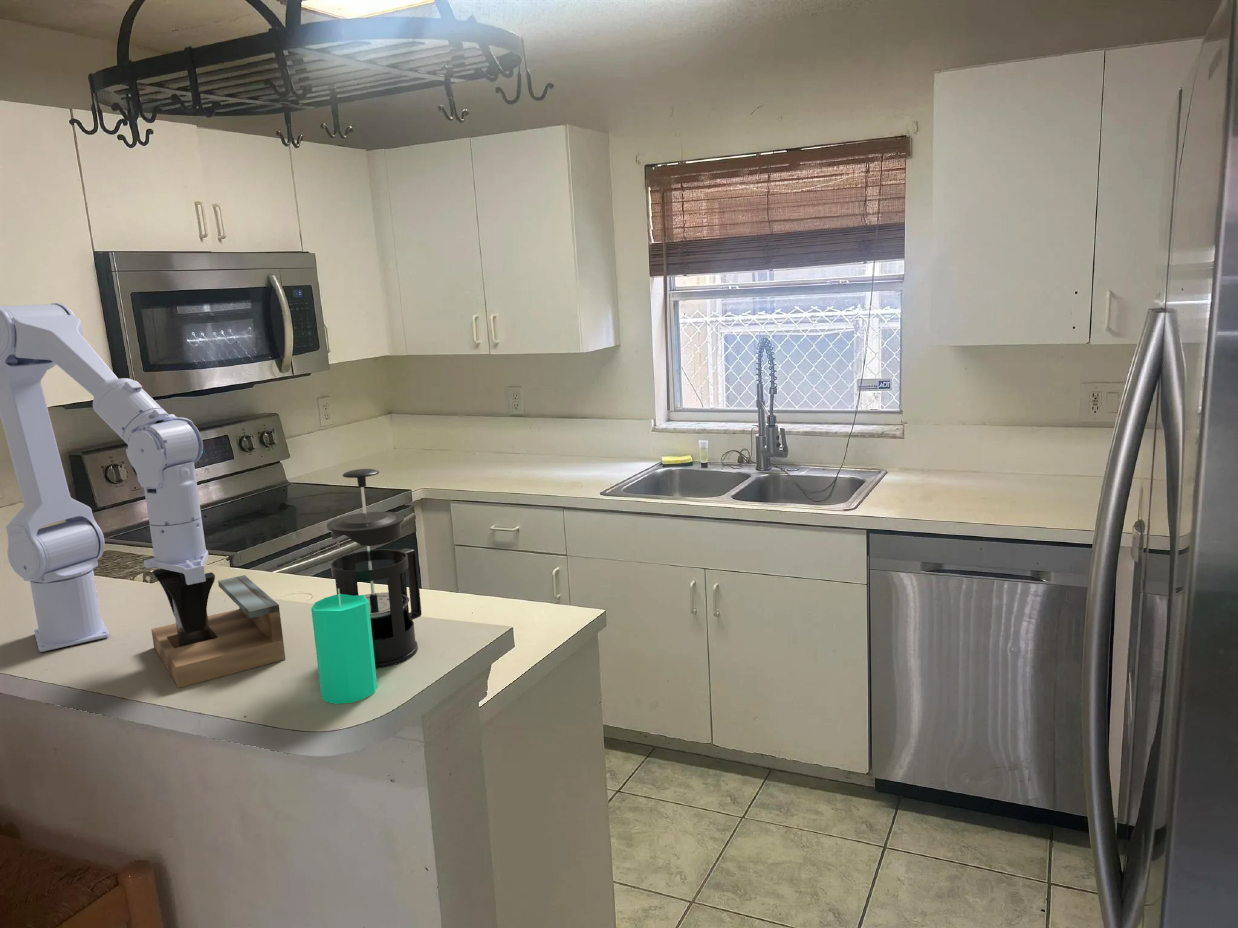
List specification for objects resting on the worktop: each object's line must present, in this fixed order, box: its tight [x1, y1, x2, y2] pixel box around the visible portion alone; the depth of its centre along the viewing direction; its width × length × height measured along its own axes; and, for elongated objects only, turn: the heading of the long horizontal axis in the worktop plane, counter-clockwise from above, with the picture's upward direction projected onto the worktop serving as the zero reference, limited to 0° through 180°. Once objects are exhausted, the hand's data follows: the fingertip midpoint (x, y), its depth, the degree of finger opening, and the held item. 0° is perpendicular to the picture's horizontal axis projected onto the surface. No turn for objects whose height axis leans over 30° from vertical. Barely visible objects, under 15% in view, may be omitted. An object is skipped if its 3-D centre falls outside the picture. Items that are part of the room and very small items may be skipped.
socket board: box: [151, 574, 286, 688], centre depth 112 cm, size 16×12×7 cm
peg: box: [172, 599, 211, 647], centre depth 111 cm, size 4×4×7 cm
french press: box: [326, 468, 422, 669], centre depth 108 cm, size 12×9×23 cm
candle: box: [310, 589, 378, 705], centre depth 98 cm, size 6×6×12 cm
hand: (190, 626), depth 111 cm, fingers closed on peg, 4 cm apart
